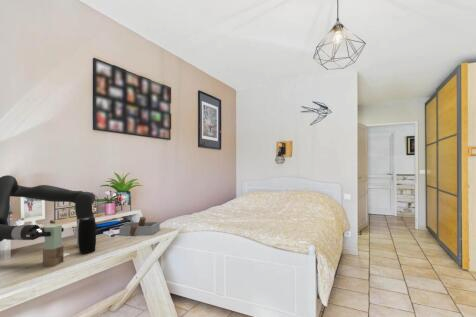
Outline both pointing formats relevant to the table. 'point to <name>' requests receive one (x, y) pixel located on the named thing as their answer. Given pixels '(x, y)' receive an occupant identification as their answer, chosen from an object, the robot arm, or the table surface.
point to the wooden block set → (141, 223)
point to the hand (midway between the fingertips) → (56, 231)
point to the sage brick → (53, 237)
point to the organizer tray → (139, 228)
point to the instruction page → (64, 254)
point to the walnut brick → (53, 257)
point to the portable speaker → (87, 235)
